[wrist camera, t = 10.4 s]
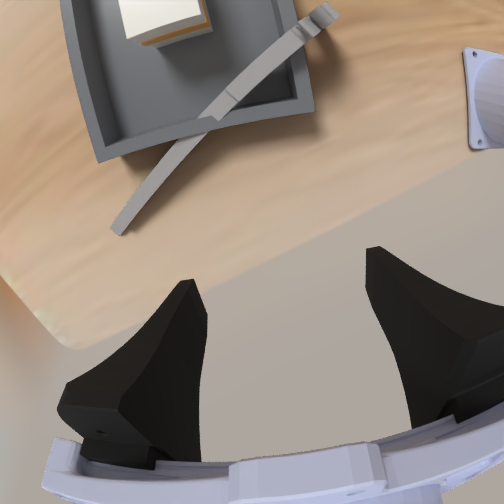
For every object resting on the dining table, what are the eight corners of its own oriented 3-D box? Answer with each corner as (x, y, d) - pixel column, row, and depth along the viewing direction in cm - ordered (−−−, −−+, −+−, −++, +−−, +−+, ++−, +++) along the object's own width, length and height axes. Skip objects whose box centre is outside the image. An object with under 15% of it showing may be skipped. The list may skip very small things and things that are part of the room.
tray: (252, -99, 9) (253, -120, 6) (305, 107, 17) (315, 111, 15) (75, -44, 10) (55, -54, 7) (117, 151, 18) (98, 163, 16)
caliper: (311, 15, 14) (339, -11, 9) (323, 27, 15) (356, 5, 9) (111, 225, 22) (76, 272, 16) (122, 234, 22) (89, 283, 17)
